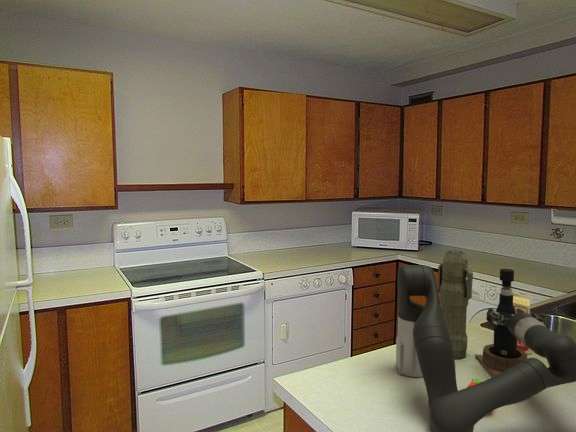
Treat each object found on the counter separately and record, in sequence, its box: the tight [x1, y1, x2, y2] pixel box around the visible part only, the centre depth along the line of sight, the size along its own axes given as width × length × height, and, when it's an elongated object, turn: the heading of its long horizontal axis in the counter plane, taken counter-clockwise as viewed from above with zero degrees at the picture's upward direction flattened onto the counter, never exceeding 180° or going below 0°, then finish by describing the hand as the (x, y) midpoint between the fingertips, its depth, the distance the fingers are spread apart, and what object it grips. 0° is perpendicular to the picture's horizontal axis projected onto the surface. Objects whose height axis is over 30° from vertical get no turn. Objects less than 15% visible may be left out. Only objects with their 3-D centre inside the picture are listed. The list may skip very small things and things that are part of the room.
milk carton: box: [512, 291, 533, 355], centre depth 142 cm, size 9×9×20 cm
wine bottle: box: [493, 268, 517, 359], centre depth 127 cm, size 6×6×30 cm
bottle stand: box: [474, 343, 528, 378], centre depth 129 cm, size 13×13×5 cm
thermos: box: [437, 250, 474, 360], centre depth 137 cm, size 9×12×35 cm
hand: (503, 311), depth 129 cm, fingers open, 8 cm apart
